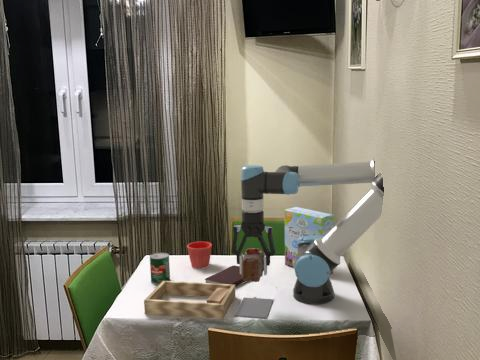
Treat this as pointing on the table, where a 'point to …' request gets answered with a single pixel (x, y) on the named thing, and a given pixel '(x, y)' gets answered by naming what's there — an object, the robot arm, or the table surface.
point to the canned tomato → (159, 267)
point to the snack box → (303, 229)
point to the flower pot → (199, 254)
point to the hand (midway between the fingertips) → (253, 273)
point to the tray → (188, 309)
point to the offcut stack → (217, 295)
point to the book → (227, 276)
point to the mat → (254, 308)
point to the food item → (252, 265)
